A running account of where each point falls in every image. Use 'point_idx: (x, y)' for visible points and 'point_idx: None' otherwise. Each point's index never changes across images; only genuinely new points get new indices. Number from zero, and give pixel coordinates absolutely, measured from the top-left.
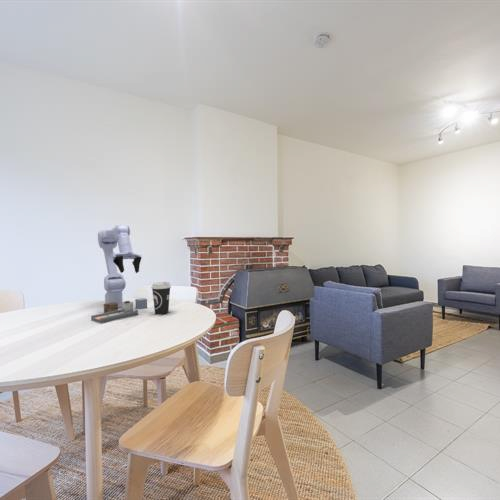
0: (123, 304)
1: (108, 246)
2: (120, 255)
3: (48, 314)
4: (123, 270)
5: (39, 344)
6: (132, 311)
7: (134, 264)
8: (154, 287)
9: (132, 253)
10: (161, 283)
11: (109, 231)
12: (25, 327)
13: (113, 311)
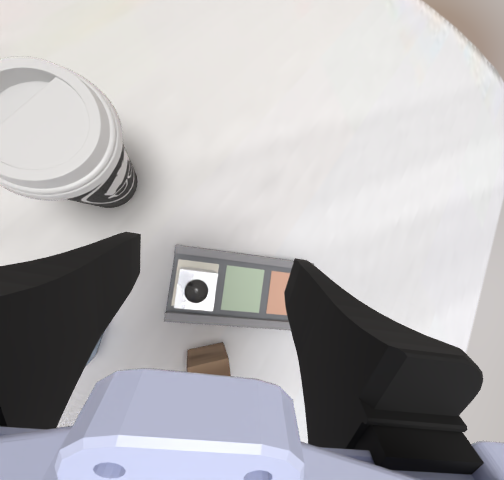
0: (215, 289)
1: None
2: None
3: None
4: (301, 261)
5: (450, 232)
6: (197, 251)
7: (77, 353)
8: (115, 133)
9: (37, 462)
10: (14, 131)
11: None
12: None
13: (232, 319)
